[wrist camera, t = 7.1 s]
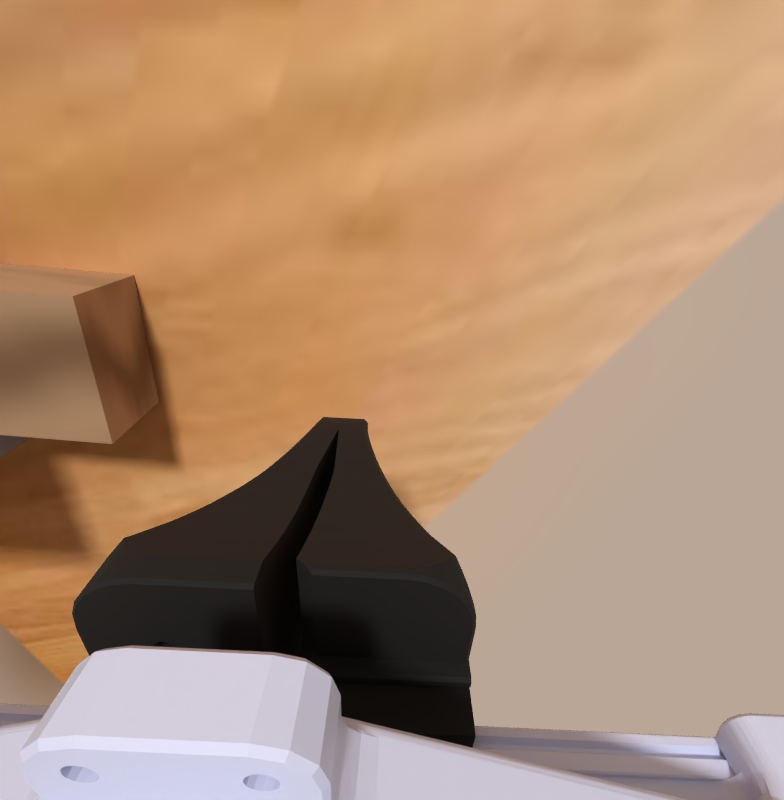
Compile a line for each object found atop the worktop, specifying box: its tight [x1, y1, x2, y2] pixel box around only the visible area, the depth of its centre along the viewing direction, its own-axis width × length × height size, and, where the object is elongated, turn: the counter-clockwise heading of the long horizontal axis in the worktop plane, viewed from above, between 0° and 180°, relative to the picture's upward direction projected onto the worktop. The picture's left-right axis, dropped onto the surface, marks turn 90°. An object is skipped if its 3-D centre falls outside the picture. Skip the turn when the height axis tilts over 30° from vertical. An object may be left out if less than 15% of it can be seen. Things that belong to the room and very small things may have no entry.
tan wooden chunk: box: [0, 263, 159, 444], centre depth 20 cm, size 7×10×4 cm
